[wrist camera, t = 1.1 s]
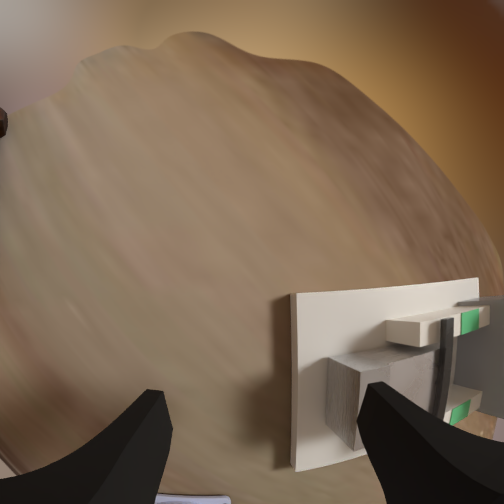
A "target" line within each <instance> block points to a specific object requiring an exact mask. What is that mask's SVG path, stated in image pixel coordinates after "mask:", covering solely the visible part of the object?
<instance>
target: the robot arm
mask: <svg viewBox="0 0 504 504" xmlns="http://www.w3.org/2000/svg"><path fill="white" fill-rule="evenodd" d="M356 422H357V426H358V429H359V433H360V436H361V440H362V443H363V445H364V448H365V450H366V452H367V454H368V457H369V459H370V461H371V463H372V466H373V468H374V470H375V472H376V475H377V477H378V479H379V481H380V483H381V486H382V489H383V491H384V494H385V498H386V502H387V504H504V442H498V441H494V440H490V439H486V438H483V437H480V436H476V435H474V434H471V433H468V432H466V431H463V430H461V429H459V428H456V427H454V426H452V425H450V424H448V423H446V422H444V421H443V420H441V419H439V418H437V417H436V416H434V415H432V414H431V413H429V412H427V411H426V410H424V409H423V408H421V407H420V406H418V405H416V404H415V403H414V402H412V401H411V400H409V399H408V398H406V397H405V396H403V395H402V394H401V393H399V392H398V391H396V390H395V389H393V388H392V387H391V386H389V385H388V384H386V383H385V382H383V381H380V382H374V383H369V384H368V385H367V388H366V392H365V395H364V399H363V402H362V405H361V408H360V411H359V414H358V417H357V420H356ZM172 431H173V427H172V424H171V420H170V416H169V412H168V408H167V404H166V400H165V396H164V392H163V391H159V390H150V389H147V390H146V391H144V392H143V393H142V394H141V395H140V396H139V397H138V398H137V399H136V400H135V401H134V402H133V403H132V404H131V405H130V406H129V407H128V408H127V409H126V410H125V411H124V412H123V413H122V414H121V415H120V416H119V417H118V418H117V419H116V420H114V421H113V422H112V423H111V424H110V425H109V426H108V427H107V428H105V429H104V430H103V431H102V432H100V433H99V434H98V435H97V436H95V437H94V438H93V439H92V440H90V441H89V442H88V443H86V444H85V445H83V446H82V447H80V448H79V449H77V450H76V451H74V452H73V453H71V454H69V455H68V456H66V457H64V458H62V459H60V460H58V461H56V462H54V463H52V464H49V465H47V466H45V467H43V468H40V469H37V470H35V471H32V472H29V473H25V474H22V475H18V476H15V477H9V478H4V479H0V504H224V503H226V504H231V500H230V498H229V497H228V496H183V495H167V494H157V492H158V489H159V485H160V482H161V478H162V475H163V472H164V468H165V465H166V461H167V458H168V454H169V451H170V444H171V438H172Z"/></svg>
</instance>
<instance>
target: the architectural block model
mask: <svg viewBox="0 0 504 504" xmlns="http://www.w3.org/2000/svg"><path fill="white" fill-rule="evenodd" d="M290 306H291V354H292V413H291V459H290V463H291V465H292V467H293V468H294V470H295V472H299V471H304V470H309V469H314V468H318V467H323V466H327V465H331V464H335V463H339V462H342V461H346V460H349V459H353V458H356V457H359V456H362V455H366V454H367V452H366V450H365V448H364V449H361V450H357V451H352V450H351V449H350V448H349V447H348V446H347V445H346V444H345V443H344V442H343V441H342V440H341V439H340V438H339V437H338V436H337V435H336V434H335V433H334V432H333V431H332V430H331V429H330V428H329V427H328V426H327V425H326V424H325V421H326V401H327V365H328V357H330V356H336V355H343V354H349V353H355V352H361V351H366V350H372V349H377V348H382V347H387V346H392V345H396V344H405V345H410V346H416V347H422V346H426V345H429V344H433V343H440V320H441V319H443V318H447V317H454V337H453V354H452V366H451V376H450V384H449V391H448V398H447V404H446V410H445V415H444V420H443V421H444V422H446V423H448V424H450V425H454V424H455V423H457V422H459V421H460V420H462V419H464V418H465V417H467V416H468V415H469V414H470V413H472V412H474V411H478V412H482V413H485V414H488V415H492V416H495V417H499V418H502V419H504V295H502V296H489V297H479V282H478V278H470V279H462V280H454V281H446V282H437V283H428V284H418V285H408V286H397V287H385V288H373V289H360V290H345V291H329V292H311V293H291V294H290Z"/></svg>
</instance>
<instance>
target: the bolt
mask: <svg viewBox="0 0 504 504" xmlns="http://www.w3.org/2000/svg"><path fill="white" fill-rule="evenodd" d="M7 127H8V118H7V113H6V112H5V111H4V110H3V109H2V108H0V138H1V137H3V136H5V135H6V131H7Z"/></svg>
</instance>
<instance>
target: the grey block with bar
mask: <svg viewBox="0 0 504 504" xmlns="http://www.w3.org/2000/svg"><path fill="white" fill-rule="evenodd" d="M453 337H454V317H447V318H443V319H441V320H440V343H433V344H429V345H426V346H422V347H416V346H410V345H405V344H396V345H392V346H387V347H382V348H377V349H372V350H366V351H361V352H355V353H349V354H343V355H336V356H330V357H328V365H327V401H326V421H325V424H326V425H327V426H328V427H329V428H330V429H331V430H332V431H333V432H334V433H335V434H336V435H337V436H338V437H339V438H340V439H341V440H342V441H343V442H344V443H345V444H346V445H347V446H348V447H349V448H350V449H351V450H352V451H357V450H361V449H364V445H363V443H362V440H361V436H360V433H359V429H358V426H357V422H356V420H357V417H358V414H359V411H360V408H361V405H362V402H363V399H364V395H365V392H366V388H367V385H368V384H369V383H374V382H380V381H383V382H385V383H386V384H388V385H389V386H391V387H392V388H393V389H395V390H396V391H398V392H399V393H401V394H402V395H403V396H405V397H406V398H408V399H409V400H411V401H412V402H414V403H415V404H416V405H418V406H420V407H421V408H423V409H424V410H426V411H427V412H429V413H431V414H432V415H434V416H436V417H437V418H439V419H441V420H444V415H445V410H446V404H447V398H448V391H449V384H450V376H451V366H452V354H453Z"/></svg>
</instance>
